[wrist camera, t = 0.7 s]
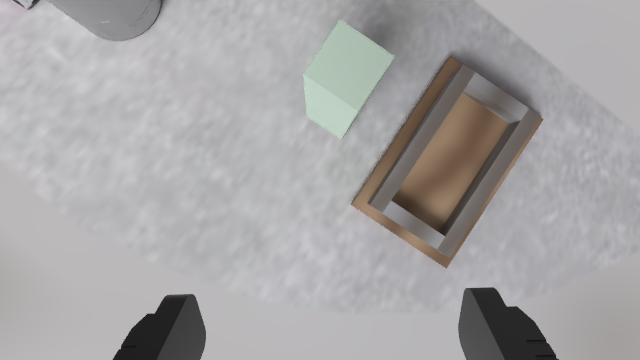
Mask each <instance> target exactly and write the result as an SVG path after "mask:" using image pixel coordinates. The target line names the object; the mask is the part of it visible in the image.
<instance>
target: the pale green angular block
mask: <svg viewBox="0 0 640 360" xmlns="http://www.w3.org/2000/svg"><path fill="white" fill-rule="evenodd" d="M394 57H395V56H394V55H392V54H391V53H389V52H388V51H386V50H385V49H383V48H382V47H380V46H379V45H377V44H376V43H374V42H373V41H371V40H370V39H369V38H367V37H366V36H364V35H363V34H361V33H360V32H358V31H357V30H355V29H354V28H352V27H351V26H349V25H348V24H346V23H345V22H343V21H342V20H339V22H338V23H337V25H336V26H335V28H334V29H333V31H332V32H331V33H330V35H329V36H328V38H327V39H326V41H325V42H324V44H323V45H322V47H321V48H320V50H319V51H318V53H317V54H316V56H315V57H314V59H313V60H312V62H311V63H310V64H309V66H308V67H307V69H306V70H305V72H304V73H303V79H304V91H305V103H306V116H307V117H308V118H310V119H311V120H313V121H314V122H316V123H317V124H319V125H320V126H321V127H323V128H324V129H326V130H327V131H329V132H330V133H332V134H333V135H335V136H336V137H338V138H339V139H342V138H343V136H344V135H345V133H346V132H347V130H348V129H349V127H350V126H351V124H352V123H353V121H354V120H355V118H356V117H357V115H358V114H359V112H360V111H361V109H362V108H363V106H364V105H365V103H366V102H367V100H368V98H369V97H370V95H371V94H372V92H373V91H374V89H375V87H376V86H377V84H378V83H379V81H380V79H381V78H382V76H383V75H384V73H385V72H386V70H387V68H388V67H389V65H390V64H391V62H392V61H393V59H394Z"/></svg>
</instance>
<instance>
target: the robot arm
mask: <svg viewBox="0 0 640 360" xmlns="http://www.w3.org/2000/svg"><path fill="white" fill-rule="evenodd" d="M47 1H48V2H49V3H51V4H52V5H54V6H55V7H57V8H58V9H59V10H61V11H62V12H64V13H65V14H66V15H68V16H69V17H71V18H72V19H74V20H75V21H76V22H78V23H79V24H81V25H82V26H84V27H85V28H87V29H88V30H89V31H91V32H92V33H94V34H95V35H97V36H99V37H102V38H104V39H108V40H113V41H120V40H127V39H132V38H134V37H136V36H138V35H141V34H142V33H143V32H145V31H146V30H147V29H148V28H149V27H150V26H151V25H152V24H153V23H154V21H155V19H156V17H157V15H158V13H159V10H160V6H161V0H47ZM458 327H459V329H458V330H459V338H460V343H461V346H462V349H463V352H464V354H465V357H466V359H467V360H559V359H557V358H556V354H555V353H554V352H553V350H552V348H551V347H550V345H549V344H548V343H547V342H546V339H545V337H544V336H543V334H542V333H541V331H540V330H539V328H538V326H537V325H536V323H535V322H534V321H533V320H532V319H531V318H529V317H528V316H527V315H526V314H525V313H524V312H523V311H522V310H520V309H519V308H518V307H516V306H515V307H507V306H506V305H505V303H504V301H503V300H502V298H501V296H500V294H499V293H498V291H497V290H496V289H495V288H466V289H465V291H464V295H463V301H462V307H461V313H460V319H459V326H458ZM205 341H206V331H205V326H204V323H203V319H202V316H201V313H200V310H199V306H198V303H197V300H196V297H195V296H194V295H193V294H184V295H167V296H165V297H164V299H163V300H162V302H161V304H160V305H159V307H158V309H157V311H156V312H155V314H147V315H146V316H145V317H144V318H143V319H142V320H140V321H139V322H138V323H137V324H136V325H135V326H134V327H133V328H132V329H131V331H130V332H129V334H128V336H127V337H126V339H125V341H124V342H123V344H122V345H121V349H119V350H118V352H117V354H116V355H115V357H114V358H113V360H200V359H201V356H202V353H203V350H204V347H205Z"/></svg>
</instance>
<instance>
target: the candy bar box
mask: <svg viewBox="0 0 640 360" xmlns="http://www.w3.org/2000/svg"><path fill="white" fill-rule="evenodd" d="M13 1H15V2H16V3H18V4H20V5H21V6H23V7H24V8H25V9H27V10H28V9H29V8H31V7H32V6H33V5H34V4H35V3H36V2H37V1H38V0H13Z"/></svg>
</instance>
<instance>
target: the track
mask: <svg viewBox="0 0 640 360" xmlns="http://www.w3.org/2000/svg"><path fill="white" fill-rule="evenodd" d="M542 121H543V118H541V116H540V115H538V114H537V113H535V112H534V111H532V110H531V109H530V108H528V107H527V106H525V105H524V104H522V103H521V102H519V101H518V100H516V99H515V98H513V97H512V96H510V95H509V94H507V93H506V92H504V91H503V90H501V89H500V88H498V87H497V86H495V85H494V84H492V83H491V82H489V81H488V80H486V79H485V78H484V77H482V76H481V75H479V74H478V73H476V72H475V71H473V70H472V69H470V68H469V67H467V66H466V65H464V64H461V63H460V62H458V61H457V60H455V59H454V58H452V57H451V56H450V57H449V58H448V59H447V60H446V62H445V63H444V65H443V66H442V68H441V69H440V71H439V72H438V74H437V75H436V77H435V78H434V80H433V81H432V83H431V84H430V86H429V87H428V89H427V90H426V92H425V93H424V95H423V96H422V98H421V99H420V101H419V102H418V104H417V105H416V107H415V108H414V110H413V111H412V113H411V114H410V116H409V117H408V119H407V120H406V122H405V123H404V125H403V127H402V128H401V130H400V131H399V133H398V134H397V136H396V137H395V139H394V140H393V142H392V143H391V145H390V146H389V148H388V149H387V151H386V152H385V154H384V155H383V157H382V158H381V160H380V161H379V163H378V164H377V166H376V167H375V169H374V170H373V172H372V173H371V175H370V176H369V178H368V179H367V181H366V182H365V184H364V185H363V187H362V188H361V190H360V191H359V193H358V194H357V196H356V197H355V199H354V200H353V202H352V203H351V205H352V206H354V207H355V208H357V209H358V210H360V211H361V212H363V213H364V214H366V215H367V216H369V217H370V218H372V219H373V220H375V221H376V222H378V223H379V224H381V225H382V226H384V227H385V228H387V229H388V230H390V231H391V232H393V233H394V234H396V235H397V236H399V237H400V238H402V239H403V240H405V241H406V242H408V243H409V244H411V245H412V246H414V247H415V248H417V249H418V250H420V251H421V252H423V253H424V254H426V255H427V256H429V257H430V258H432V259H433V260H435V261H436V262H438V263H439V264H441V265H442V266H444V267H445V268H447V267H448V265H449V264H450V262H451V261H452V259H453V258H454V256H455V255H456V253H457V252H458V250H459V248H460V247H461V245H462V244H463V242H464V241H465V239H466V238H467V236H468V235H469V233H470V232H471V230H472V228H473V227H474V225H475V224H476V222H477V221H478V219H479V218H480V216H481V215H482V213H483V212H484V210H485V208H486V207H487V205H488V204H489V202H490V201H491V199H492V198H493V196H494V195H495V193H496V191H497V190H498V188H499V187H500V185H501V184H502V182H503V181H504V179H505V178H506V176H507V175H508V173H509V171H510V170H511V168H512V167H513V165H514V164H515V162H516V161H517V159H518V158H519V156H520V155H521V153H522V151H523V150H524V148H525V147H526V145H527V144H528V142H529V141H530V139H531V138H532V136H533V134H534V133H535V131H536V130H537V128H538V127H539V125H540V124H541V122H542Z"/></svg>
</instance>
